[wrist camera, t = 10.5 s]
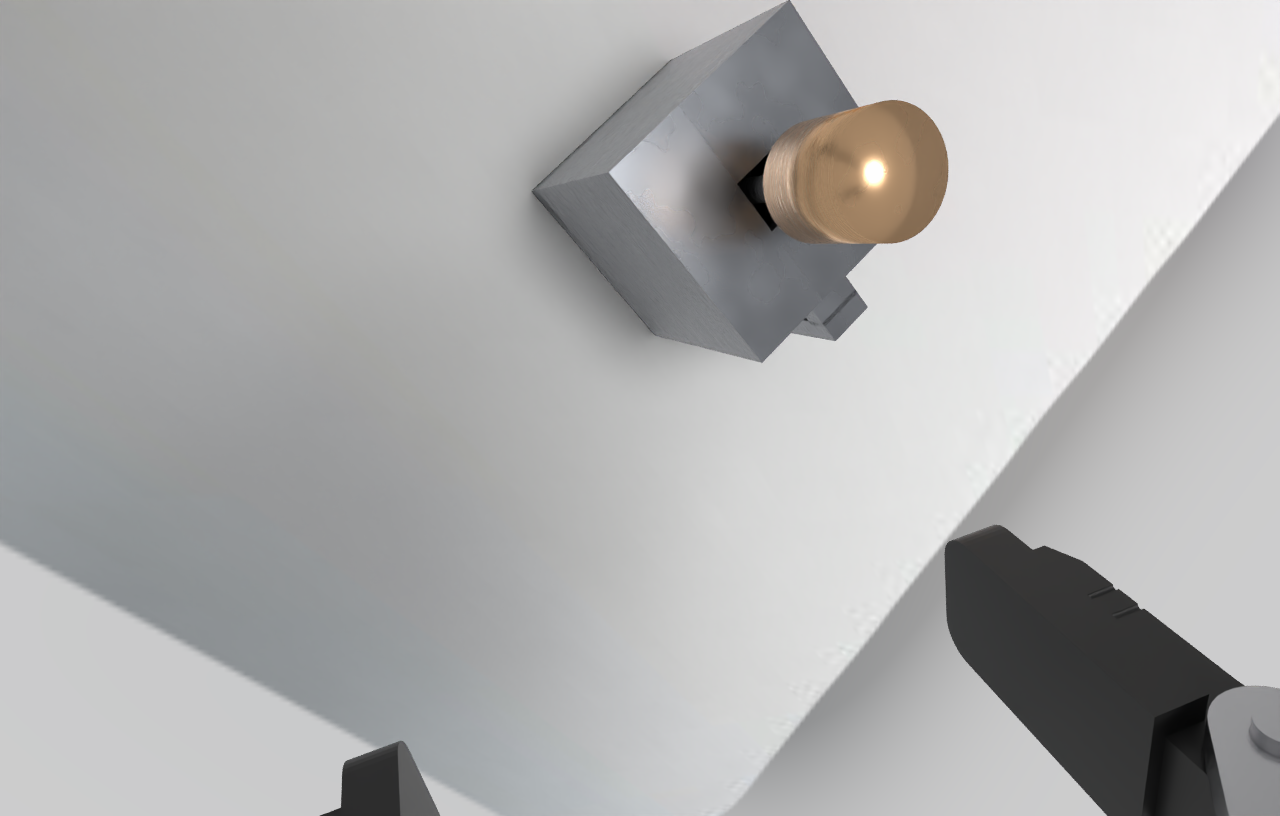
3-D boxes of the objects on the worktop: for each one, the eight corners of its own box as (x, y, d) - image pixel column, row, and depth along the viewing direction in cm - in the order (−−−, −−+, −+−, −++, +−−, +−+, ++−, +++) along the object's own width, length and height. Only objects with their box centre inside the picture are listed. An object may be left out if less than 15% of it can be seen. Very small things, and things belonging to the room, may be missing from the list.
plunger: (574, 191, 37) (740, 157, 23) (684, 85, 38) (910, -11, 24) (672, 308, 39) (875, 344, 25) (773, 207, 40) (1023, 186, 26)
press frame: (531, 191, 38) (608, 172, 28) (670, 60, 39) (789, -1, 30) (686, 371, 42) (799, 408, 33) (806, 248, 44) (949, 249, 34)
